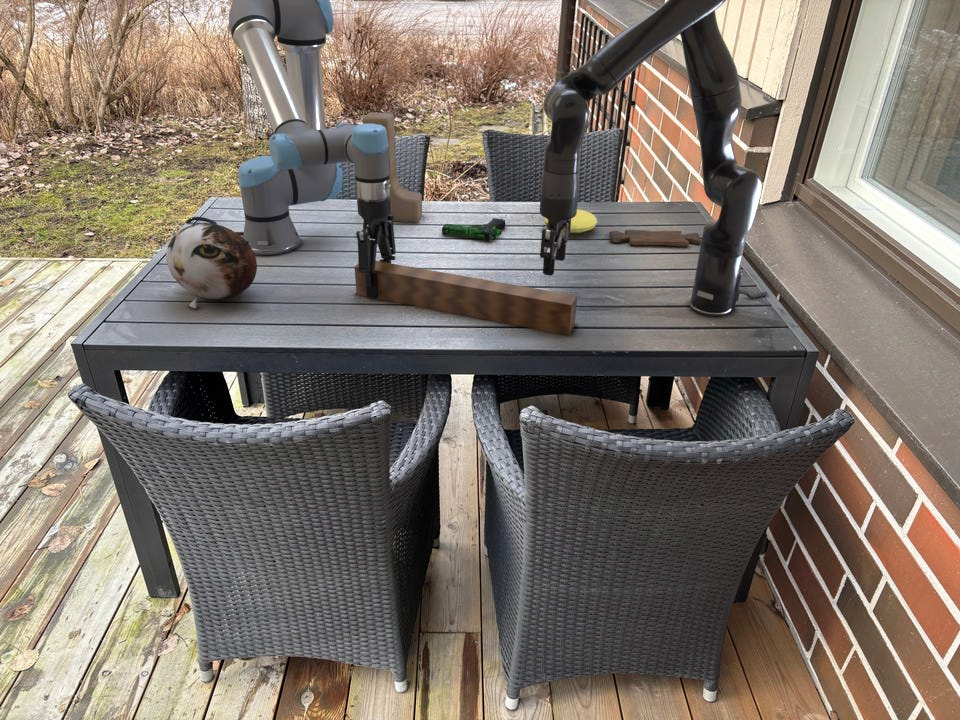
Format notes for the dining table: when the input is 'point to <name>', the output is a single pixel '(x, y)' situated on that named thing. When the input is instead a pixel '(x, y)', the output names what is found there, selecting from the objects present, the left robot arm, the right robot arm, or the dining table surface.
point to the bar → (473, 297)
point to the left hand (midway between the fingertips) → (379, 291)
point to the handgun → (476, 230)
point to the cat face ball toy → (211, 261)
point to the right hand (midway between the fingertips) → (554, 267)
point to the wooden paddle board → (654, 237)
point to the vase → (581, 221)
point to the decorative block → (402, 201)
